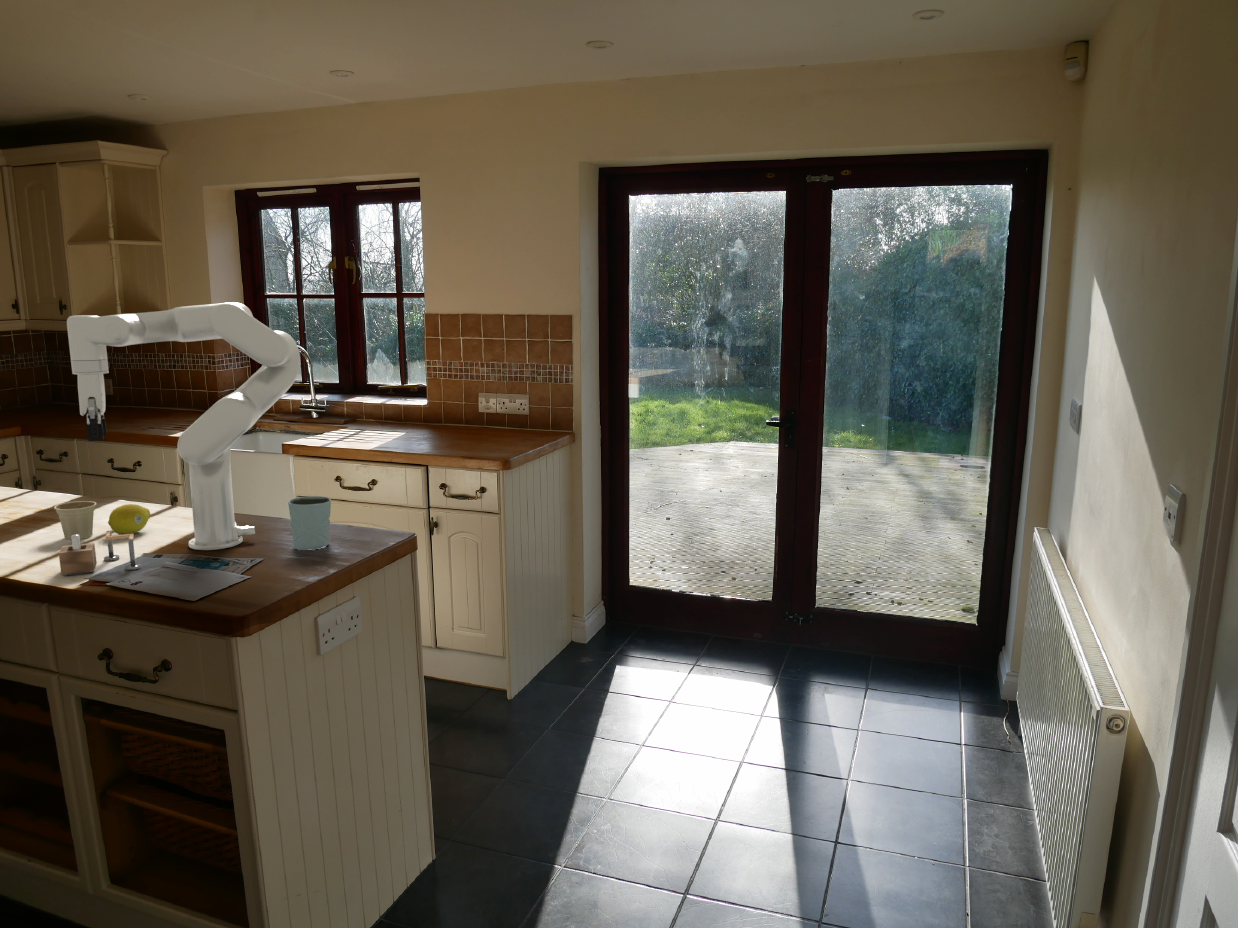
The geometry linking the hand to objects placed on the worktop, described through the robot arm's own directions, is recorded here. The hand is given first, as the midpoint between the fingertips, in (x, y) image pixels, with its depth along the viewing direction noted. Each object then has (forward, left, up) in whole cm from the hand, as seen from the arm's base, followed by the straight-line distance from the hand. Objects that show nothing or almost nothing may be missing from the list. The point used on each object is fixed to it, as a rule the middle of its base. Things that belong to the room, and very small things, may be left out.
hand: (97, 437), depth 212 cm
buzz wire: (-3, +15, -28) cm, 32 cm away
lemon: (-4, -14, -28) cm, 32 cm away
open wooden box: (+5, +17, -28) cm, 33 cm away
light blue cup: (-46, +18, -28) cm, 57 cm away
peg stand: (+5, +17, -28) cm, 34 cm away
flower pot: (+8, -16, -28) cm, 34 cm away
